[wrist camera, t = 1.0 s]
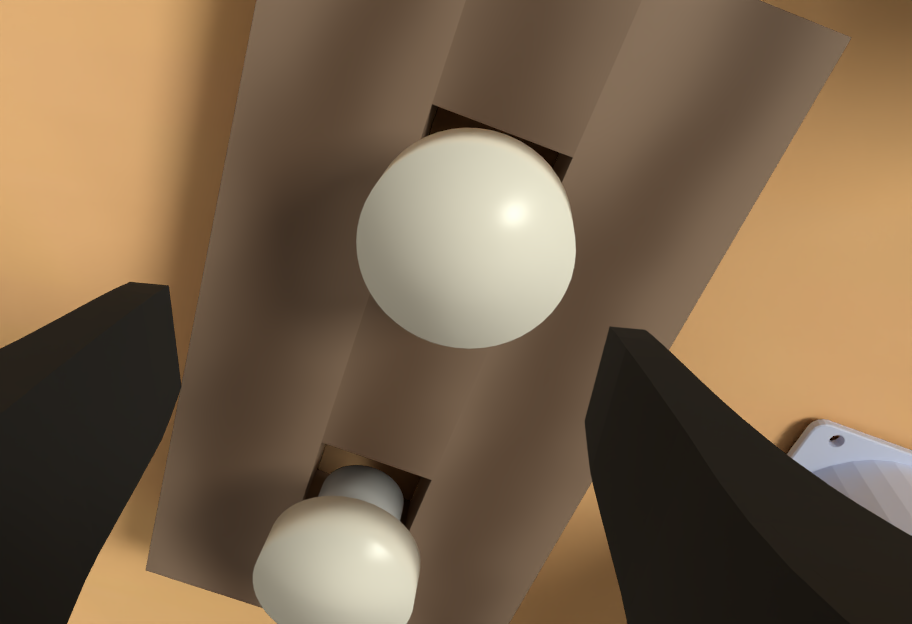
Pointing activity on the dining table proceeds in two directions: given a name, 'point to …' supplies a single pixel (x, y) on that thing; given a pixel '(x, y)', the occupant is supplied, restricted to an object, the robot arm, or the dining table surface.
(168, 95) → the dining table surface
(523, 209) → the button
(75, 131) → the dining table surface
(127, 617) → the dining table surface
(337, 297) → the console
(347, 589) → the button
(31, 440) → the robot arm
